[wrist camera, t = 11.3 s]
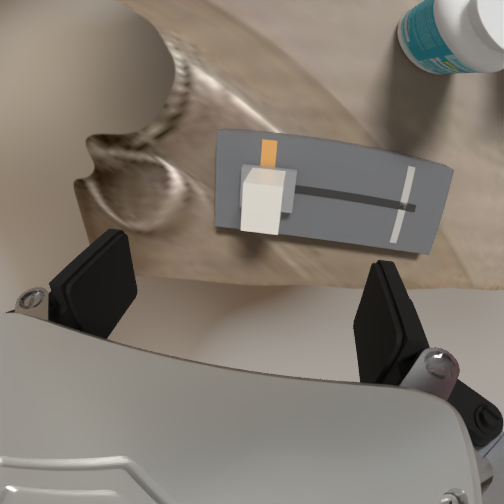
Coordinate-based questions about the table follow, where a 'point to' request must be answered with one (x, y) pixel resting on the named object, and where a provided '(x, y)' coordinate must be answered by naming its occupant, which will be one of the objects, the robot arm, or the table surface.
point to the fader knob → (265, 197)
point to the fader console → (338, 189)
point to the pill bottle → (454, 36)
